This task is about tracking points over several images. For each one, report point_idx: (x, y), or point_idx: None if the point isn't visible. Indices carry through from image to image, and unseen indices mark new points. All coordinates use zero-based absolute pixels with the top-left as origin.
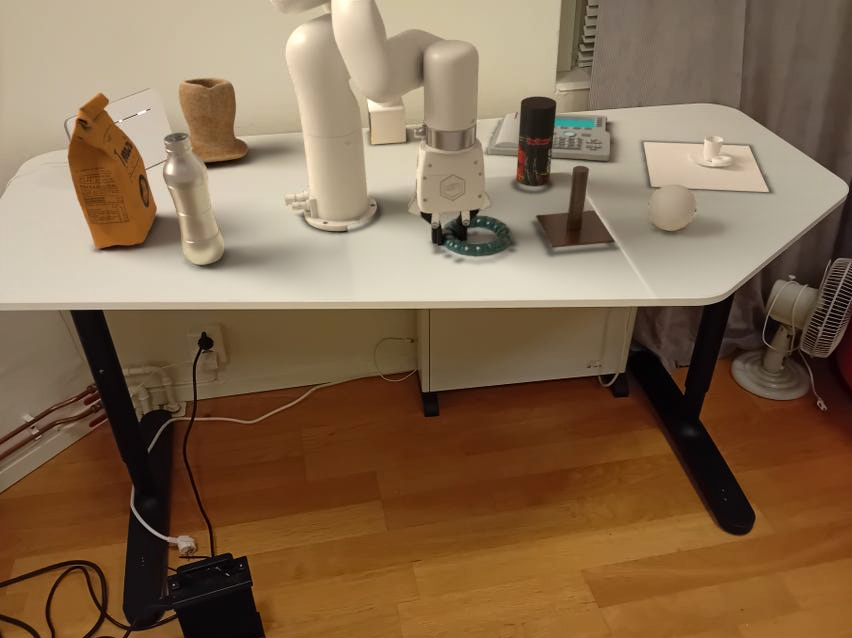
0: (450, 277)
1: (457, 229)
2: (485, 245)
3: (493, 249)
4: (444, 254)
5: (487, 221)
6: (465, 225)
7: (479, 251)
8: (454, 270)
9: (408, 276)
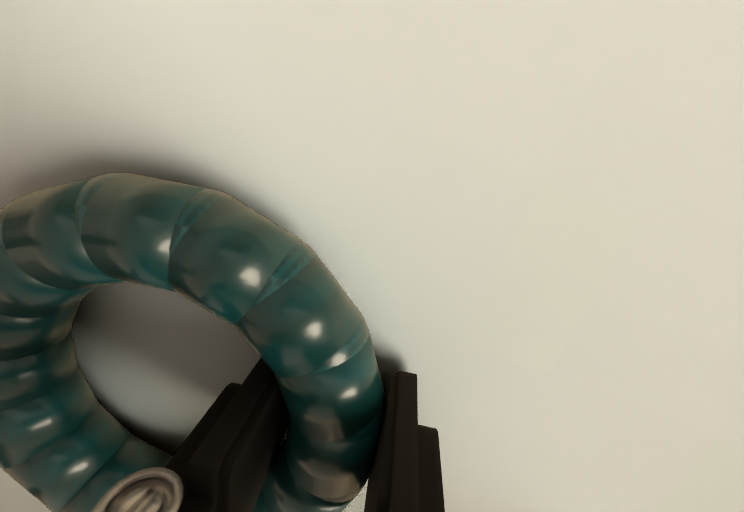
0: (455, 62)
1: (254, 470)
2: (99, 228)
3: (66, 189)
4: (389, 332)
5: (70, 478)
6: (168, 472)
7: (169, 197)
8: (395, 144)
9: (724, 182)
